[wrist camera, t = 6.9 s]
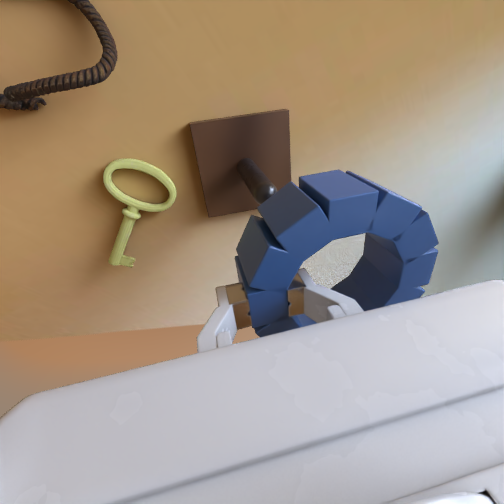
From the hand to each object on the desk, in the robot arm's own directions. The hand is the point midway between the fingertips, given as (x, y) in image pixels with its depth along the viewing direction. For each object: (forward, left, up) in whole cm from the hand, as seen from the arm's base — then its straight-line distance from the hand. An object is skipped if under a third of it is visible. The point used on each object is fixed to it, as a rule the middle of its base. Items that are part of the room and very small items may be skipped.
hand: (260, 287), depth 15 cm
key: (+10, +1, -20) cm, 22 cm away
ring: (-4, 0, -2) cm, 5 cm away
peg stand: (-3, -2, -20) cm, 20 cm away
